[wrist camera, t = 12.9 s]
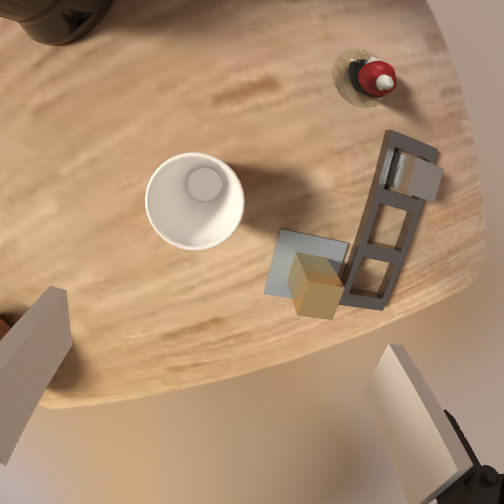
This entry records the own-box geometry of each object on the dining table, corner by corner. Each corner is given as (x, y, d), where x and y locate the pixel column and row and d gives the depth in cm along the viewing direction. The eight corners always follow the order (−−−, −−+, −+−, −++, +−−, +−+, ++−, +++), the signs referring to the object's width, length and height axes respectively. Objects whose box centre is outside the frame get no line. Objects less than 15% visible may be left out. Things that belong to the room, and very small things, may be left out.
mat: (280, 228, 43) (280, 229, 43) (347, 242, 44) (348, 243, 44) (263, 292, 47) (264, 293, 47) (326, 302, 48) (327, 303, 48)
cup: (202, 130, 38) (188, 131, 28) (259, 181, 41) (266, 200, 31) (153, 187, 40) (126, 208, 30) (208, 234, 43) (199, 269, 33)
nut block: (295, 251, 44) (308, 281, 36) (326, 257, 45) (344, 287, 36) (287, 280, 46) (297, 315, 38) (317, 285, 46) (332, 319, 38)
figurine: (406, 37, 30) (429, 97, 27) (378, 83, 39) (390, 145, 36) (347, 16, 29) (360, 72, 26) (326, 69, 39) (330, 130, 35)
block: (391, 151, 40) (416, 157, 33) (417, 161, 40) (443, 168, 34) (383, 182, 41) (406, 193, 35) (409, 190, 42) (434, 202, 35)
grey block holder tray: (385, 129, 38) (392, 130, 37) (430, 147, 39) (437, 149, 37) (334, 297, 48) (338, 304, 46) (378, 304, 49) (382, 310, 47)
